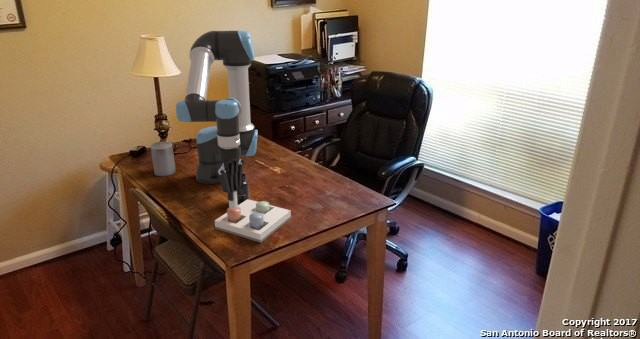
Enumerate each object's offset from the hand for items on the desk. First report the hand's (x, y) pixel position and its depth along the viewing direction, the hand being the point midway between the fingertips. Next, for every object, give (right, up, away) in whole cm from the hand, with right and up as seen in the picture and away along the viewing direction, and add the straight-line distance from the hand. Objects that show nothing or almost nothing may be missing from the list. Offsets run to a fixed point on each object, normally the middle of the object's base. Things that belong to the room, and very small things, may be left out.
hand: (233, 207), depth 168 cm
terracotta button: (0, -5, +2) cm, 5 cm away
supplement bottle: (-1, 0, +22) cm, 22 cm away
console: (+7, -6, +5) cm, 11 cm away
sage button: (+9, -3, +10) cm, 14 cm away
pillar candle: (-41, +12, +50) cm, 66 cm away
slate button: (+9, -6, -2) cm, 11 cm away
